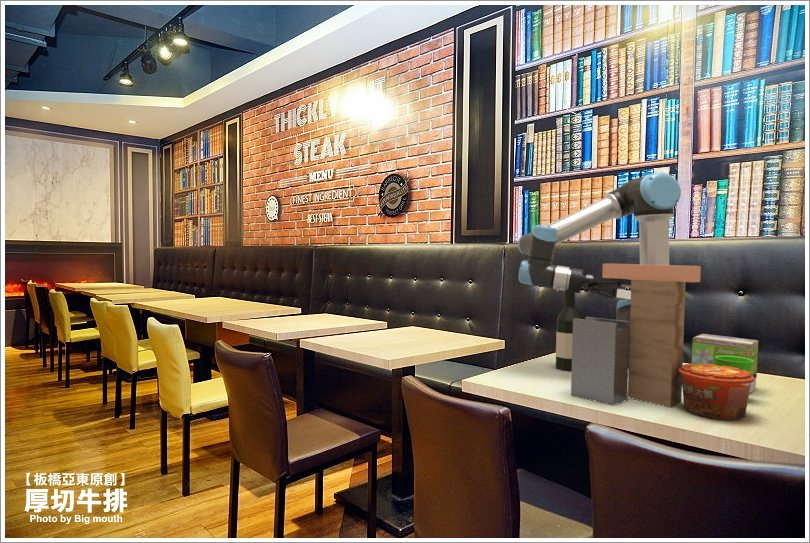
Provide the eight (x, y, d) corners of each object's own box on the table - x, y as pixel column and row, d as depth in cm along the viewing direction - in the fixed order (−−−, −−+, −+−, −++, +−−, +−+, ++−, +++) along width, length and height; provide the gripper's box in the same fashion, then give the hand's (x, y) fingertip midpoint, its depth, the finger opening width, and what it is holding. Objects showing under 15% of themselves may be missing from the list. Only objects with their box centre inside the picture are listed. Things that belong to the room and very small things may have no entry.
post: (639, 393, 143) (643, 278, 142) (681, 402, 135) (685, 280, 133) (627, 397, 138) (631, 279, 137) (670, 407, 130) (674, 281, 129)
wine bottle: (550, 366, 176) (552, 279, 175) (573, 365, 178) (575, 279, 177) (562, 371, 168) (564, 280, 167) (585, 371, 170) (588, 280, 168)
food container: (694, 399, 137) (696, 360, 137) (763, 415, 125) (765, 371, 124) (664, 409, 128) (666, 367, 128) (736, 428, 115) (738, 380, 115)
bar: (609, 277, 147) (609, 263, 147) (700, 281, 129) (700, 266, 129) (602, 277, 145) (602, 263, 145) (694, 282, 127) (694, 266, 127)
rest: (585, 390, 145) (587, 316, 144) (627, 400, 136) (629, 321, 135) (570, 395, 140) (573, 318, 139) (613, 405, 131) (615, 323, 130)
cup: (759, 404, 133) (761, 363, 133) (720, 402, 135) (722, 361, 135) (743, 395, 142) (745, 356, 142) (708, 393, 144) (709, 354, 144)
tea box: (689, 385, 153) (691, 336, 152) (699, 379, 160) (701, 332, 160) (749, 395, 142) (751, 343, 142) (757, 389, 149) (759, 339, 149)
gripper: (566, 300, 171) (634, 312, 164) (567, 280, 148) (647, 293, 141) (570, 278, 173) (638, 289, 166) (572, 256, 150) (650, 267, 143)
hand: (642, 291), depth 154 cm, fingers open, 13 cm apart
